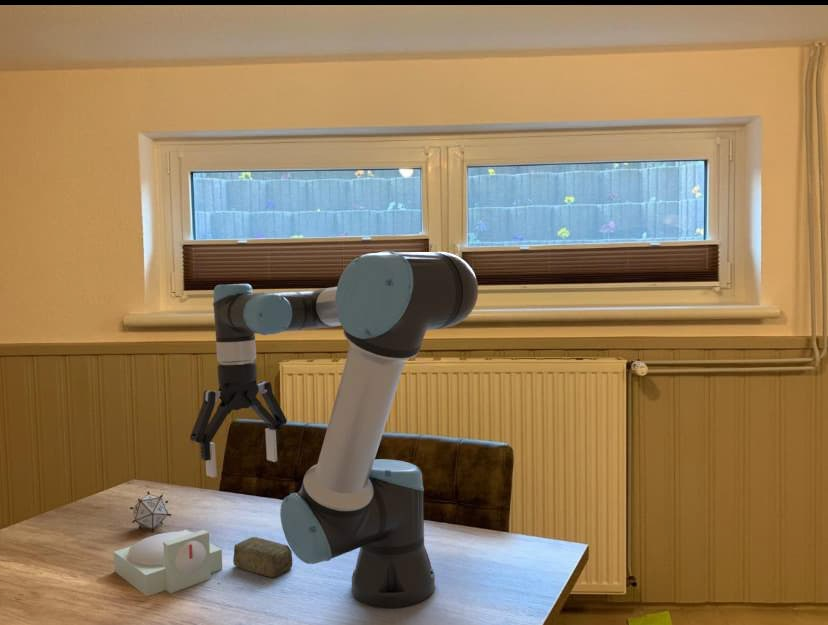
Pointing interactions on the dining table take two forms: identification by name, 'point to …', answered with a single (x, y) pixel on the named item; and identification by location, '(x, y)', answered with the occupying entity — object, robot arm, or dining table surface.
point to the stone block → (262, 557)
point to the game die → (150, 511)
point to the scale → (168, 561)
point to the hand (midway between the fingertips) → (242, 468)
